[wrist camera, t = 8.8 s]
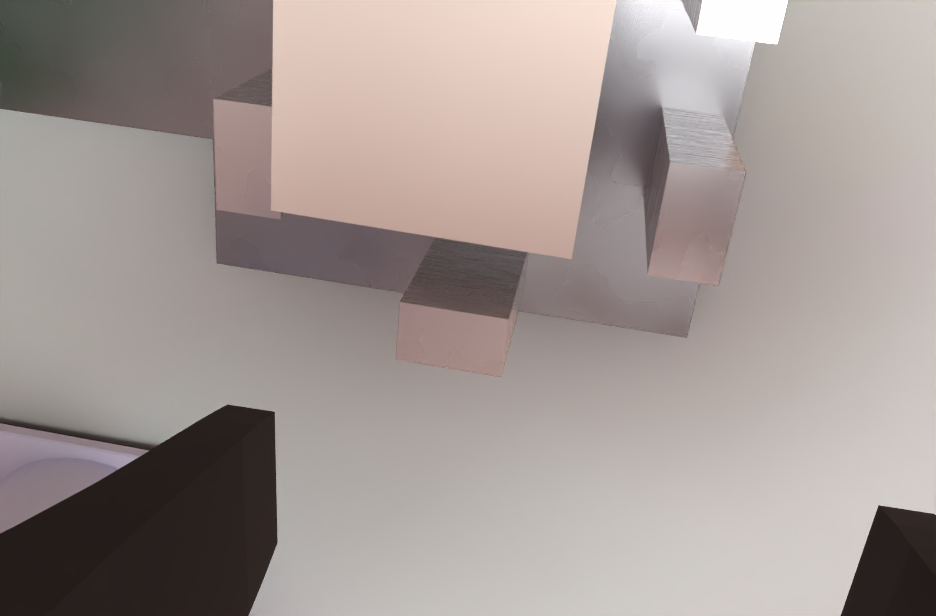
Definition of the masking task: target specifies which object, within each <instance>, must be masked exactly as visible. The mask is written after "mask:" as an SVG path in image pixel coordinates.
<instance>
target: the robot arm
mask: <svg viewBox="0 0 936 616" xmlns="http://www.w3.org/2000/svg"><path fill="white" fill-rule="evenodd" d="M276 545H277V504H276V458H275V412H272V411H265V410H259V409H252V408H246V407H239V406H233V405H226V406H224V407H222V408H220V409H219V410H217V411H215V412H213V413H211V414H210V415H208V416H206V417H204V418H203V419H201V420H199V421H198V422H196V423H194V424H193V425H191V426H189V427H188V428H186V429H184V430H183V431H181V432H179V433H178V434H176V435H175V436H173V437H171V438H170V439H168V440H166V441H165V442H163V443H161V444H160V445H158V446H156V447H155V448H153V449H152V450H150V451H149V450H144V449H138V448H133V447H127V446H122V445H116V444H111V443H105V442H100V441H94V440H89V439H83V438H78V437H72V436H67V435H61V434H56V433H50V432H45V431H39V430H34V429H28V428H23V427H17V426H12V425H6V424H1V423H0V616H248V615H249V613H250V611H251V608H252V606H253V603H254V601H255V598H256V596H257V594H258V591H259V589H260V586H261V584H262V581H263V579H264V576H265V574H266V571H267V568H268V566H269V563H270V560H271V558H272V555H273V553H274V550H275V547H276ZM841 616H936V515H935V514H931V513H924V512H918V511H911V510H905V509H898V508H892V507H885V506H878V509H877V512H876V515H875V518H874V521H873V523H872V526H871V529H870V532H869V535H868V538H867V541H866V544H865V547H864V550H863V553H862V555H861V558H860V561H859V564H858V567H857V570H856V573H855V576H854V579H853V582H852V585H851V587H850V590H849V593H848V596H847V599H846V602H845V605H844V608H843V611H842V614H841Z"/></svg>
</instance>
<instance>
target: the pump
mask: <svg viewBox="0 0 936 616" xmlns="http://www.w3.org/2000/svg"><path fill="white" fill-rule="evenodd" d="M615 6H616V0H273V65H272V157H271V211H277V212H283V213H289V214H296V215H302V216H308V217H314V218H320V219H326V220H333V221H339V222H345V223H351V224H357V225H363V226H370V227H376V228H382V229H388V230H394V231H400V232H407V233H413V234H419V235H425V236H431V237H437V238H443V239H450V240H456V241H462V242H468V243H474V244H480V245H487V246H493V247H499V248H505V249H511V250H517V251H524V252H530V253H536V254H542V255H548V256H554V257H561V258H567V259H572V254H573V248H574V243H575V237H576V231H577V225H578V219H579V214H580V208H581V202H582V196H583V191H584V185H585V179H586V173H587V167H588V162H589V156H590V150H591V144H592V139H593V133H594V127H595V121H596V115H597V110H598V104H599V98H600V92H601V86H602V81H603V75H604V69H605V63H606V58H607V52H608V46H609V40H610V34H611V29H612V23H613V17H614V11H615Z"/></svg>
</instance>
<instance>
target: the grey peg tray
mask: <svg viewBox="0 0 936 616" xmlns="http://www.w3.org/2000/svg"><path fill="white" fill-rule="evenodd" d="M787 1H788V0H616V6H615V11H614V17H613V23H612V29H611V34H610V40H609V46H608V52H607V58H606V63H605V69H604V75H603V81H602V86H601V92H600V98H599V104H598V110H597V115H596V121H595V127H594V133H593V139H592V144H591V150H590V156H589V162H588V167H587V173H586V179H585V185H584V191H583V196H582V202H581V208H580V214H579V219H578V225H577V231H576V237H575V243H574V248H573V254H572V259H567V258H561V257H554V256H548V255H542V254H536V253H530V252H524V251H517V250H511V249H505V248H499V247H493V246H487V245H480V244H474V243H468V242H462V241H456V240H450V239H443V238H437V237H431V236H425V235H419V234H413V233H407V232H400V231H394V230H388V229H382V228H376V227H370V226H363V225H357V224H351V223H345V222H339V221H333V220H326V219H320V218H314V217H308V216H302V215H296V214H289V213H283V212H277V211H271V157H272V65H273V0H0V109H7V110H14V111H21V112H28V113H35V114H42V115H49V116H56V117H63V118H69V119H76V120H83V121H90V122H97V123H104V124H111V125H118V126H125V127H132V128H139V129H146V130H153V131H160V132H167V133H174V134H181V135H188V136H195V137H202V138H209V139H213V151H214V185H215V218H216V251H217V263H219V264H225V265H231V266H238V267H244V268H250V269H257V270H263V271H269V272H275V273H282V274H288V275H294V276H301V277H307V278H313V279H320V280H326V281H332V282H339V283H345V284H351V285H358V286H364V287H370V288H377V289H383V290H389V291H396V292H402V293H405V294H404V295H403V297H402V299H401V301H400V306H399V321H398V335H397V350H396V360H402V361H408V362H414V363H420V364H426V365H432V366H438V367H444V368H450V369H456V370H462V371H468V372H474V373H480V374H486V375H492V376H498V377H501V375H502V372H503V368H504V364H505V360H506V356H507V352H508V348H509V345H510V341H511V337H512V333H513V329H514V325H515V321H516V318H517V314H518V311H522V312H528V313H535V314H541V315H547V316H554V317H560V318H566V319H573V320H579V321H585V322H591V323H598V324H604V325H610V326H617V327H623V328H629V329H636V330H642V331H648V332H655V333H661V334H667V335H674V336H680V337H686V338H687V335H688V331H689V326H690V322H691V318H692V313H693V309H694V305H695V300H696V296H697V292H698V287H699V283H702V284H709V285H716V286H719V282H720V278H721V274H722V270H723V266H724V262H725V257H726V253H727V249H728V245H729V241H730V237H731V233H732V229H733V224H734V220H735V216H736V212H737V208H738V204H739V200H740V196H741V191H742V187H743V183H744V179H745V175H746V171H745V169H744V166H743V164H742V161H741V159H740V156H739V154H738V151H737V149H736V146H735V144H734V141H733V136H734V132H735V127H736V123H737V119H738V114H739V110H740V106H741V102H742V97H743V93H744V89H745V84H746V80H747V76H748V71H749V67H750V63H751V58H752V54H753V50H754V45H755V41H756V42H764V43H772V44H777V43H778V39H779V34H780V30H781V26H782V22H783V18H784V14H785V10H786V6H787Z"/></svg>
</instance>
